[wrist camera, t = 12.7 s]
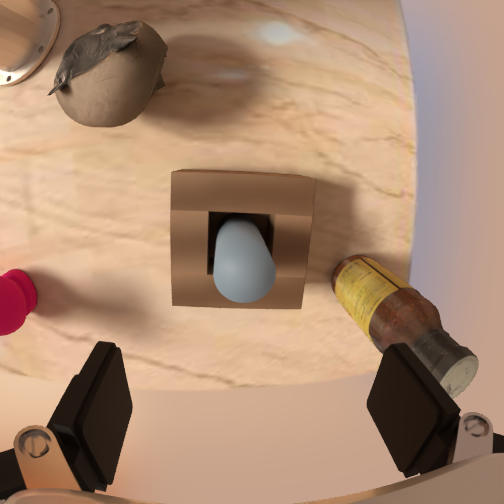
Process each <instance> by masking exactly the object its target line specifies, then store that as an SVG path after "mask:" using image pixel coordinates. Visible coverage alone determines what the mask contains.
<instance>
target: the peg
mask: <svg viewBox="0 0 504 504" xmlns="http://www.w3.org/2000/svg"><path fill="white" fill-rule="evenodd" d="M213 276H214V282H215V285H216V287H217V289H218V290H219V292H220V293H221V294H222V295H223V296H225V297H226V298H228V299H229V300H231V301H234V302H239V303H249V302H254V301H256V300H259V299H261V298H262V297H264V296H265V295H266V294H267V293H268V292H269V291H270V290H271V288H272V286H273V284H274V282H275V278H276V268H275V264H274V262H273V260H272V257H271V255H270V253H269V251H268V249H267V247H266V245H265V243H264V240H263V238H262V236H261V234H260V232H259V230H258V228H257V225H256V223H255V221H254V220H253V219H252V218H251V217H250V216H249V215H247V214H245V213H238V212H232V213H229V214H227V215H226V216H225V217H223V218H222V220H221V221H220V223H219V225H218V229H217V239H216V250H215V261H214V273H213Z"/></svg>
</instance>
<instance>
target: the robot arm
mask: <svg viewBox="0 0 504 504" xmlns="http://www.w3.org/2000/svg"><path fill="white" fill-rule="evenodd" d="M59 25H60V13H59V9H58V7H57V6H56V4H55V3H53V2H52V1H51V0H0V86H11V85H14V84H17V83H19V82H21V81H22V80H24V79H25V78H27V77H28V76H29V75H30V74H31V73H32V72H33V71H35V69H36V68H37V67H38V66H39V65H40V64H41V63H42V61H43V60H44V59H45V57H46V56H47V54H48V53H49V51H50V49H51V47H52V46H53V43H54V41H55V39H56V37H57V33H58V30H59ZM367 408H368V411H369V412H370V415H371V416H372V419H373V420H374V422H375V424H376V426H377V428H378V430H379V432H380V434H381V436H382V438H383V440H384V442H385V444H386V446H387V448H388V450H389V452H390V454H391V456H392V458H393V460H394V462H395V464H396V466H397V468H398V470H399V471H400V472H403V473H404V476H405V477H406V478H408V477H411V476H414V475H417V474H418V473H420V475H419V476H416V477H414V478H410V479H407V480H404V481H401V482H398V483H394V484H391V485H387V486H384V487H380V488H376V489H372V490H368V491H364V492H360V493H355V494H350V495H346V496H341V497H335V498H330V499H324V500H318V501H311V502H304V503H295V504H504V436H503V435H500V434H496V433H493V426H492V424H491V422H490V420H489V419H488V418H487V417H485V416H484V415H482V414H480V413H476V412H469V413H466V414H464V415H463V416H462V417H460V416H459V413H460V411H461V409H460V408H459V407H458V406H457V404H456V403H455V402H454V401H453V399H452V398H451V397H450V396H449V394H448V393H447V392H446V391H445V389H444V388H443V387H442V386H441V384H440V383H439V382H438V381H437V380H436V378H435V377H434V376H433V375H432V373H431V372H430V371H429V370H428V369H427V367H426V366H425V365H424V364H423V363H422V361H421V360H420V359H419V358H418V357H417V356H416V354H415V353H414V352H413V351H412V350H411V349H410V347H409V346H408V345H407V344H406V343H395V344H390V345H389V347H388V348H386V349H385V351H384V354H383V357H382V360H381V363H380V366H379V369H378V372H377V375H376V378H375V380H374V383H373V386H372V389H371V391H370V394H369V397H368V399H367ZM131 414H132V400H131V396H130V391H129V387H128V383H127V378H126V373H125V368H124V363H123V358H122V353H121V349H120V348H119V347H116V345H115V343H112V342H103V341H98V342H97V344H96V345H95V347H94V349H93V350H92V352H91V354H90V356H89V357H88V359H87V361H86V362H85V364H84V366H83V368H82V369H81V371H80V373H79V375H78V374H77V375H75V376H74V377H73V378H72V380H71V382H70V384H69V385H68V387H67V389H66V391H65V393H64V395H63V396H62V398H61V400H60V402H59V404H58V406H57V407H56V409H55V411H54V413H53V415H52V417H51V419H50V421H49V423H48V425H47V427H43V426H38V425H33V426H28V427H26V428H24V429H22V430H21V431H19V432H18V434H17V435H16V437H15V440H14V448H13V449H10V450H7V451H4V452H1V453H0V504H162V503H153V502H145V501H138V500H131V499H125V498H120V497H114V496H108V495H103V494H97V493H94V492H95V489H96V490H100V491H104V492H106V488H107V484H108V485H111V484H112V483H113V480H114V476H115V472H116V467H117V464H118V460H119V456H120V453H121V449H122V445H123V441H124V438H125V435H126V431H127V428H128V424H129V420H130V417H131Z"/></svg>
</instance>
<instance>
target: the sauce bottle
mask: <svg viewBox="0 0 504 504" xmlns="http://www.w3.org/2000/svg"><path fill="white" fill-rule="evenodd" d="M332 288H333V291H334V293H335V295H336V297H337V299H338V301H339V302H340V304H341V305H342V306H343V307H344V309H345V310H346V311H347V312H348V314H349V315H350V316H351V317H352V318H353V320H354V321H355V322H356V323H357V325H358V326H359V327H360V328H361V329H362V331H363V332H364V333H365V334H366V336H367V337H368V338H369V339H370V341H371V342H372V343H373V344H374V345H375V347H376V348H377V349H378V350H379V351H380V352H381V353H382V354H384V351H385V349H386V348H388V347H389V345H390V344H395V343H406V344H407V345H408V346H409V347H410V349H411V350H412V351H413V352H414V353H415V354H416V356H417V357H418V358H419V359H420V360H421V361H422V363H423V364H424V365H425V366H426V367H427V369H428V370H429V371H430V372H431V373H432V375H433V376H434V377H435V378H436V380H437V381H438V382H439V383H440V384H441V386H442V387H443V388H444V389H445V391H446V392H447V393H448V394H449V396H450V397H451V398H452V399H453V398H455V397H457V396H458V395H459V394H460V393H461V392H463V391H464V390H465V388H466V387H467V386H468V385H469V384H470V383H471V381H472V380H473V378H474V377H475V375H476V373H477V369H478V359H477V356H475V355H474V354H473V353H472V352H471V351H470V350H469V349H468V348H467V347H463V346H460V345H459V344H458V343H457V342H456V341H455V340H453V339H452V338H451V337H450V336H449V333H447V332H446V331H444V330H443V327H442V325H441V320H440V315H439V312H438V310H437V308H436V306H434V305H433V304H432V303H431V302H430V301H429V300H427V299H426V298H424V297H423V296H422V295H421V294H420V293H419V292H418V291H417V290H415V289H414V288H413V287H411V286H410V285H409V284H407V283H406V282H404V281H403V280H402V279H400V278H399V277H397V276H396V275H395V274H393V273H392V272H390V271H389V270H387V269H386V268H385V267H383V266H382V265H380V264H379V263H377V262H376V261H374V260H373V259H370V258H367V257H364V256H352V257H349V258H347V259H346V260H344V261H343V262H342V263H341V264H339V266H338V267H337V268H336V270H335V272H334V274H333V278H332Z"/></svg>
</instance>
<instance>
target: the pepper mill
mask: <svg viewBox="0 0 504 504" xmlns="http://www.w3.org/2000/svg"><path fill="white" fill-rule="evenodd" d="M36 304H37V293H36V289H35V287H34V284H33V283H32V281H31V279H30V278H29V277H28V276H27V275H26V274H25V273H24V272H22V271H20V270H17V269H12V270H10V271H8V272H7V273H5V274H3V275H2V276H0V336H2V335H8V334H11V333H13V332H15V331H16V330H18V329H19V328H20V327H21V326H22V325H23V323H24V322H25V319H26V316H27V315H28V314H29V313H30V312H31V311H32V310H33V309H34V308H35V306H36Z"/></svg>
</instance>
